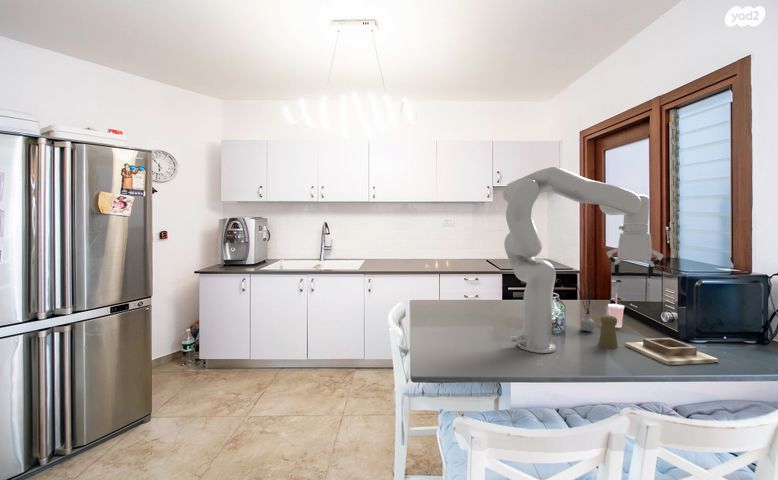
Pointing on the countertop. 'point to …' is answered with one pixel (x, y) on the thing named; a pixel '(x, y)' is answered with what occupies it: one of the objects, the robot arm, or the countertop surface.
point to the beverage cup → (616, 312)
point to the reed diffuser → (587, 316)
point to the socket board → (670, 351)
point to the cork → (608, 332)
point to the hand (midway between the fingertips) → (633, 276)
